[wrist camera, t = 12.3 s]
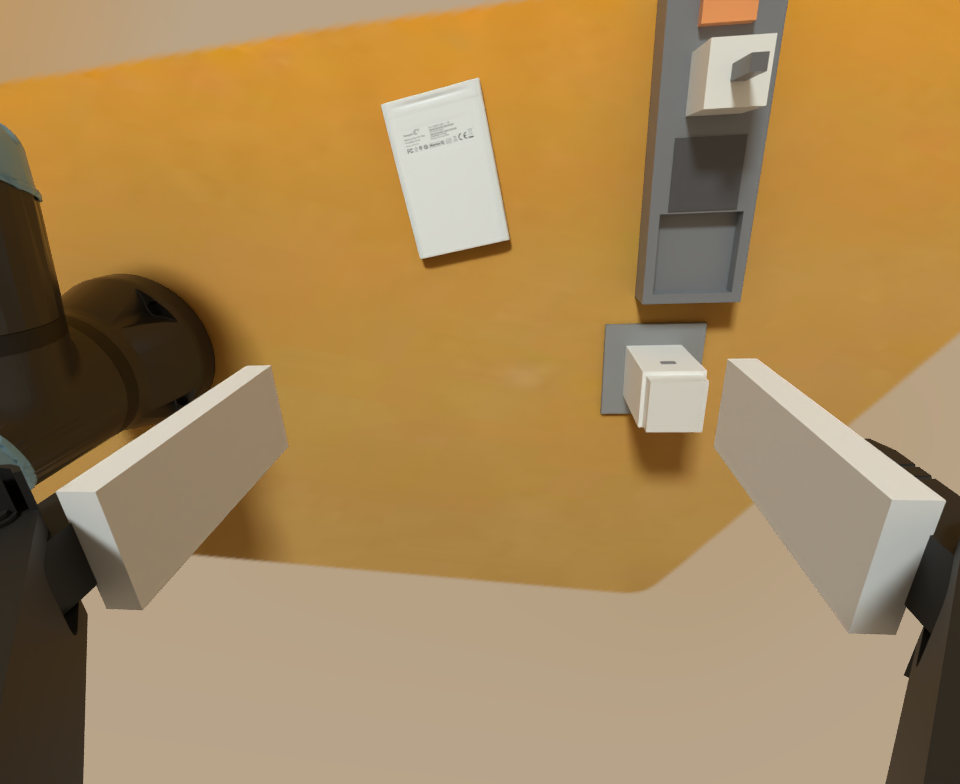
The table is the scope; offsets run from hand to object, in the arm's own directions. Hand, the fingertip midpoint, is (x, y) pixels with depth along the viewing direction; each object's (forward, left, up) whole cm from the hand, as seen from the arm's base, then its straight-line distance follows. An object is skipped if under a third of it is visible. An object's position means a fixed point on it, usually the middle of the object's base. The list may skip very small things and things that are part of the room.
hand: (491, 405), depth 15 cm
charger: (+13, -11, -32) cm, 37 cm away
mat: (+13, -11, -33) cm, 37 cm away
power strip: (+15, +11, -33) cm, 38 cm away
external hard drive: (-5, +7, -33) cm, 35 cm away
